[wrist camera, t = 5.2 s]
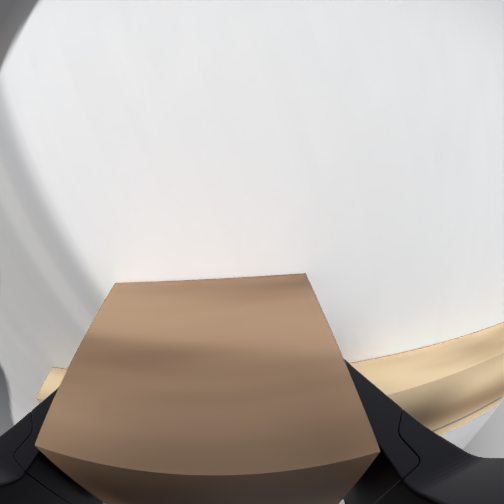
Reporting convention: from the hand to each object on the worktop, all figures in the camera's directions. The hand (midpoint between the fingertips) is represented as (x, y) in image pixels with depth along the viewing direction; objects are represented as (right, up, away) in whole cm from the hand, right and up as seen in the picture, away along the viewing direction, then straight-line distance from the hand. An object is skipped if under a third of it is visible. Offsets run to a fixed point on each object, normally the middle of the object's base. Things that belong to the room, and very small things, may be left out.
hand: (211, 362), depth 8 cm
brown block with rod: (0, -3, +3) cm, 4 cm away
